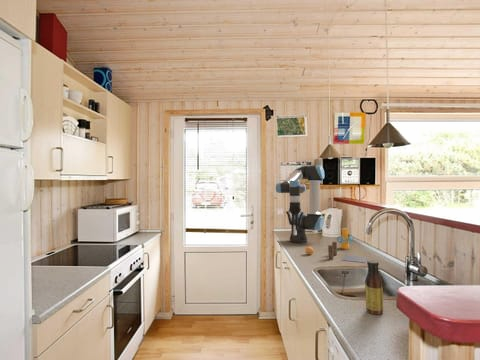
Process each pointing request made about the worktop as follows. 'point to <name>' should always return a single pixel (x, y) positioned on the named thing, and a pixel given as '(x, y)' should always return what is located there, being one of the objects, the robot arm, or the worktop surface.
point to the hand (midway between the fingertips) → (295, 234)
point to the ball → (309, 250)
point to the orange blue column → (345, 239)
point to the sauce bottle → (373, 289)
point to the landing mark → (355, 259)
